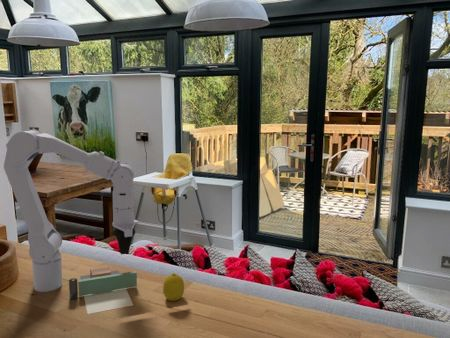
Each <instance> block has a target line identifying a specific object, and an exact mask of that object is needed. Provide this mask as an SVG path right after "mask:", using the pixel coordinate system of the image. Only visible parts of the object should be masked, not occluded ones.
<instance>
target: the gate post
mask: <svg viewBox="0 0 450 338" xmlns="http://www.w3.org/2000/svg"><path fill="white" fill-rule="evenodd" d="M68 286H69V287H68V290H69V300H70V301H75V300H77V299H78V298H79V286H78V278H76V277H74V278H70V279H69V280H68Z"/></svg>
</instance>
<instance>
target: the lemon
mask: <svg viewBox="0 0 450 338" xmlns="http://www.w3.org/2000/svg"><path fill="white" fill-rule="evenodd" d="M162 290H163V291H162V292H163V296H164V297H165V298H166V299H167V300H168V301H171V302H176V301H179V300H180V299H181V298H182V297H183V295H184V293H185V282H184V280H183V277H182V276H181V275H179V274H177V273H175V272H173V273H171V274H169V275H167V276H166V277H165V278H164V281H163V284H162Z"/></svg>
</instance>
